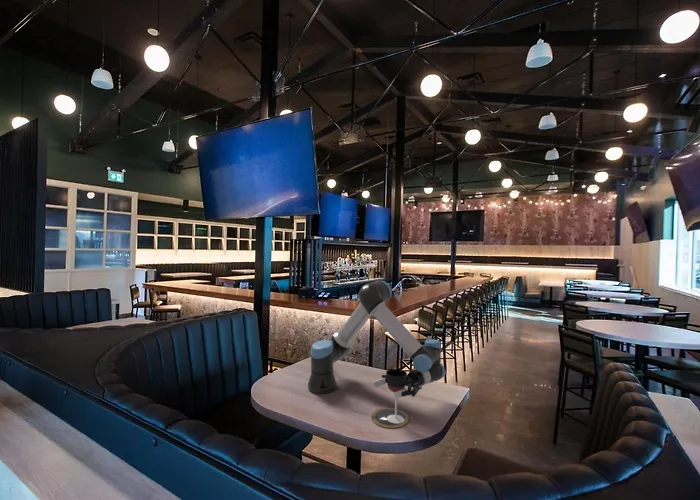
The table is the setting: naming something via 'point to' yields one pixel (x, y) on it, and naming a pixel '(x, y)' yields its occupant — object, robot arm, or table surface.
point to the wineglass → (396, 383)
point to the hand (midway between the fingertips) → (383, 390)
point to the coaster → (381, 416)
